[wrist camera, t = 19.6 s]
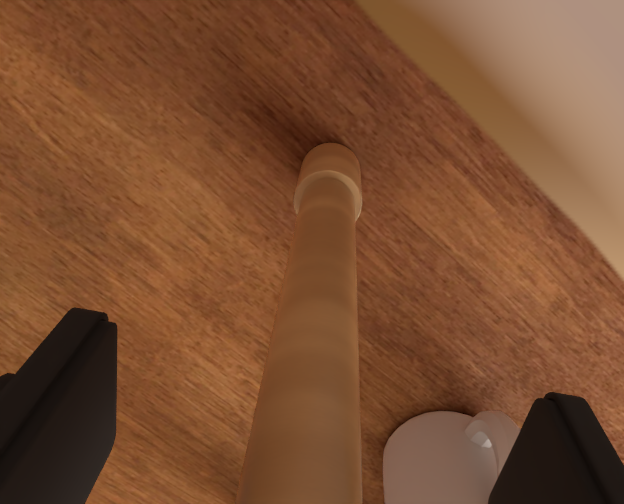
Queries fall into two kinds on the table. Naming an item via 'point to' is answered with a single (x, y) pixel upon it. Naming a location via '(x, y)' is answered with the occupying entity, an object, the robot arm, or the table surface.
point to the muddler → (313, 351)
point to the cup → (447, 457)
